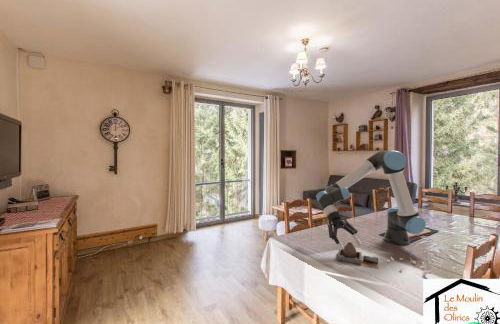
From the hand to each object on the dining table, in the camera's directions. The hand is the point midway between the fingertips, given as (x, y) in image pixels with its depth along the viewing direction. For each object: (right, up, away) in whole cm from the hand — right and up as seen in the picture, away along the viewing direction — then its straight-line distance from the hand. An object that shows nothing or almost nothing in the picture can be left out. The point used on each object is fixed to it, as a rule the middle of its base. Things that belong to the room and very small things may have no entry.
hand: (351, 247), depth 135 cm
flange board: (+3, -8, 0) cm, 8 cm away
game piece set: (+27, -9, -7) cm, 29 cm away
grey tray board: (+3, -7, 0) cm, 8 cm away
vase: (-1, -7, +1) cm, 7 cm away
